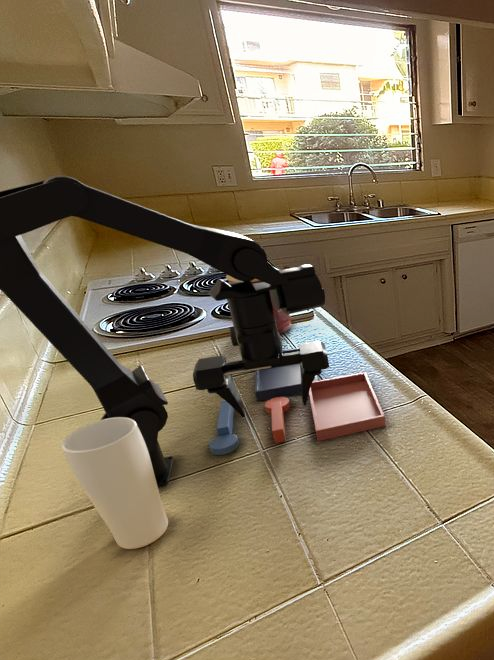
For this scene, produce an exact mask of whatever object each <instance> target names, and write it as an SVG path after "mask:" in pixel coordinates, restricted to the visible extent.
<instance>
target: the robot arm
mask: <svg viewBox="0 0 494 660" xmlns="http://www.w3.org/2000/svg"><path fill="white" fill-rule="evenodd" d="M70 217H76V218H79V219H82V220H85V221H87V222H90V223H94V224H96V225H99V226H102V227H106V228H109V229H112V230H115V231H117V232H121V233H124V234H126V235H130V236H133V237H136V238H139V239H141V240H145V241H148V242H151V243H154V244H157V245H160V246H163V247H166V248H169V249H172V250H175V251H177V252H180V253H183V254H186V255H189V256H190V257H193V258H194V259H196V260H198V261H200V262H202V263H204V264H206V265H208V266H210V267H211V268H213V269H215V270H217V271H219V272H221V273H223V274H225V275H226V276H227V275H229V276H231V277H233V278H235V279H237V280H240V281H238V282H232V283H228V282H226V281H224V280H223V279H221V278H218V279H217V280H216V282H215V284H214V285H213V286H212V287H211V288H210V289H209V290H208V295H209V296H210V297H212V298H213V299H214V300H215V301H217V302H220V301H225V300H226V302H227V306H228V310H229V312H230V317H231V323H232V326H229V328H228V329H229V337H230V341H231V345H232V347H238V349H239V353H240V357H241V360H235V361H227V358H226V356H225V355H222V354H221V355H216V356H209V357H201V358H198V359H197V361H196V362H195V365H194V369H193V371H192V380H193V383H194V387H195V390H196V391H206V390H207V393H208V394H216V395H217V396H218V397H220V398H221V399H222V400H223V401H226V402H228V403H229V404H230V405H231V406H232V407H233V408H234V411H236V413H237V414H238V415H239V416H240V417H241V418H242V419H244V418H246V410H245V407H244V403H243V401H242V399H241V396H240V394H239V391H238V389H237V386H236V384H235V379H234V377H233V375H239V374H245V373H251V372H255V371H258V370H264V369H270V368H276V367H282V366H288V365H294V364H300V371H301V393H300V394H301V401H302V406H303V407H306V406H307V402H308V399H309V391H310V387H311V385H312V382H313V380H314V378H315V376H316V375H317V376H319V375H321V374H322V370H323V371H324V370H327V369H328V368H330V362H329V357H328V352H327V347H326V345H325V343H324V342H323V341H321V340H316V341H309V342H303V343H302V342H301V343H298V348H299V349H300V351H298V352H292V353H285V354H282V351H283V343H282V339H281V334H279V333H278V330H277V325H276V321H275V316H274V311H273V307H272V302H273V304H274V306H275V307H276V309H277V310H280V309H282V310H283V312H284V313H285V314H287V315H288V314H290V315H291V314H292V315H293V314H296V313H301V312H305V311H309V310H313V309H317V308H323V307H324V306H325V304H326V292H325V289H324V287H323V285H322V283H321V280H320V278H319V277H318V275H317V274H316V268H315V266H313V265H311V264H308V263H307V264H301V265H299V266H297V267H291V268H286V269H278V268H276V267H275V266H274V265H272V263H270V262H269V261H268V255H267V253H266V251H265V249H264V247H263V246H262V245H261V244H260V243H258V242H256V241H254V240H252V239H251V238H249V237H247V236H245V235H242V234H239V233H237V232H234V231H233V232H232V231H228V230H223V229H218V228H214V227H207V226H202V225H196V224H192V223H189V222H185V221H183V220H181V219H178V218H175V217H172V216H169V215H167V214H164V213H161V212H159V211H157V210H154V209H151V208H148V207H146V206H143V205H140V204H138V203H135V202H133V201H130V200H127V199H125V198H122V197H119V196H117V195H115V194H112V193H109V192H107V191H103V190H101V189H99V188H96V187H92V186H90V185H88V184H85V183H83V182H82V181H79V180H78V179H76V178H75V177H73V176H69V175H65V174H54V175H51V176H49V177H47V178H46V179H44V180H41V181H37V182H32V183H28V184H25V185H21V186H16V187H12V188H8V189H4V190H1V191H0V291H1V292H2V293H3V294H4V295H5V296H6V297H7V299H9V300H10V301H11V302H12V303H13V305H15V307H17V308H18V310H19V311H20V312H21V313H22V314H23V315H24V316H25V317H26V319H28V320H29V322H31V324H33V326H34V327H35V328H36V329H37V330H38V331H39V332H40V333H41V334H42V336H43V337H44V338H45V339H46V340H47V341H48V342H49V344H51V345H52V346H53V347H54V348H55V349H56V351H58V353H59V354H60V355H61V356H62V357H63V358H64V359H65V360H66V361H67V362H68V363H69V364H70V365H71V366H72V367H73V369H75V370H76V372H77V373H78V374H79V375H80V376H81V377H82V378H83V379H84V380H85V381H86V382H87V384H89V386H90V387H91V388H92V390H93V391H94V393H95V395H96V397H97V399H98V401H99V403H100V405H101V406H102V409H103V411H104V412H105V413H104V414H103V416H102V417H101V418H100V420H103V419H107V418H114V417H126V418H130V419H133V420H134V421H135V422H136V423H137V426H138V428H139V430H140V432H141V434H142V436H143V438H144V441H145V443H146V446H147V449H148V452H149V455H150V459H151V463H152V467H153V470H154V474H155V478H156V482H157V486H158V488H162V487H165V486H167V485H169V482H170V478H171V474H172V470H173V467H174V462H175V457H174V456H171V455H170V456H166V457H165V456H164V453H163V451H162V448H161V446H160V443H159V440H158V438H159V432H160V431H162V430H163V429H164V427H165V426H166V424H167V421H168V419H169V414H168V411H167V409H166V407H165V406H166V405H168V404H169V401H168V400H167V398H166V397H165V394H164V392H163V391H162V389H161V387H160V385H159V383H156V382H155V381H153V380H152V379H151V378H149V376H148V374H147V372H146V370H145V368H144V366H143V365H142V364H141V365H138V366H137V367H136V368H134V369H133V370H131V369H129V368H128V367H126V366H124V365H123V364H122V363H120V361H118V360H117V358H116V357H115V356H114V354H112V352H110V350H109V349H108V348H107V347H106V345H104V343H103V342H102V341H101V340H100V339H99V337H98V336H97V335H96V334H95V333H94V331H93V330H92V329H91V328H90V327H89V326H88V325H87V323H86V322H85V321H84V320H83V318H81V316H80V315H79V314H78V313H77V312H76V311H75V309H74V308H73V307H72V306H71V305H70V303H69V302H68V301H67V300H66V299H65V298H64V297H63V295H62V294H61V293H60V292H59V291H58V290H57V288H56V287H55V286H54V284H52V282H51V281H50V280H49V279H48V278H47V277H46V275H45V274H44V273H43V271H41V269H40V268H39V266H38V264H37V262H36V260H35V259H34V257H33V255H32V253H31V251H30V249H29V248H28V245H27V244H26V242H25V240H24V238H23V237H22V235H25V234H27V233H30V232H33V231H35V230H37V229H39V228H43V227H45V226H48V225H50V224H53V223H55V222H58V221H61V220H63V219H66V218H70ZM254 279H257V280H260V281H262V282H263V283H256V284H252V283H251V282H250V281H252V280H254ZM269 291H270V292H269ZM270 295H271V297H270ZM271 299H272V302H271Z"/></svg>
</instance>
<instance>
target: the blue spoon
mask: <svg viewBox="0 0 494 660" xmlns="http://www.w3.org/2000/svg"><path fill="white" fill-rule="evenodd" d="M234 418H235V409H234V408H233V407H232V406H231V405H230V404H229V403H228V402H226V401H225V400H221V401H220V406H219V411H218V418H217V424H216V431H217V434H218V435H217V436H216V437H213V439H211V440H210V441H209V443H208V447H209V450H210V453H211V454H212V455H215V456H223V455H228V454H230V453H232V452H234V451H235V450H237V449H238V448H239V447H240V441H239V438H238V436H237V435H236V434H234V433H233V428H234Z"/></svg>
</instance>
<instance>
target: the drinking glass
mask: <svg viewBox="0 0 494 660" xmlns="http://www.w3.org/2000/svg"><path fill="white" fill-rule="evenodd" d="M60 447H61V450H62V453H63V455H64V457H65V460H66V462H67V464H68V466H69V469H70V470H71V473H72V475H73V476H74V478H75V480H76V481H77V483H78V485H79V486H80V488H81V489H82V491H83V492H84V494H85V496H86V497H87V499H88V500H89V501H90V503H91V504H92V505H93V507H94V509H95V510H96V512H97V513H98V515H99V516H100V517H101V519H102V520H103V522H104V523H105V525H106V527H107V529H108V530H109V531H110V533H111V535H112V536H113V539H114V541H115V542H116V544H117V546H119V547H120V548H122V549H124V550H125V549H126V550H137V549H140V548H143V547H146V546H148V545H150V544H152V543H154V542H155V541H157V540H158V539H160V538H161V537H162V536H163V535H164V533H165V532H166V531H167V529H168V526H169V519H168V516H167V513H166V510H165V508H164V504H163V501H162V497H161V494H160V490H159V487H158V486H157V482H156V478H155V474H154V470H153V467H152V463H151V459H150V455H149V452H148V449H147V446H146V443H145V441H144V438H143V436H142V434H141V432H140V430H139V428H138V426H137V423H136V422H135V421H134V420H133V419H130V418H126V417H114V418H107V419H103V420H101V419H100V420H99V419H98V420H95V421H93V422H91V423H87V424H85V425H82V426H80V427H78V428H77V429H75V430H73V431H72V432H70V433H69V434H68V435H66V437H64V438H63V440H62V442H61V444H60Z"/></svg>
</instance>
